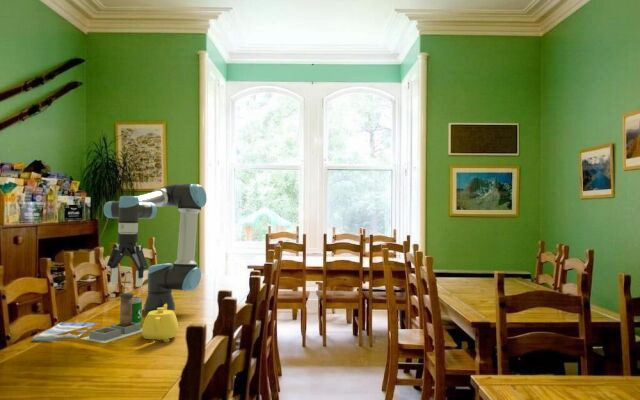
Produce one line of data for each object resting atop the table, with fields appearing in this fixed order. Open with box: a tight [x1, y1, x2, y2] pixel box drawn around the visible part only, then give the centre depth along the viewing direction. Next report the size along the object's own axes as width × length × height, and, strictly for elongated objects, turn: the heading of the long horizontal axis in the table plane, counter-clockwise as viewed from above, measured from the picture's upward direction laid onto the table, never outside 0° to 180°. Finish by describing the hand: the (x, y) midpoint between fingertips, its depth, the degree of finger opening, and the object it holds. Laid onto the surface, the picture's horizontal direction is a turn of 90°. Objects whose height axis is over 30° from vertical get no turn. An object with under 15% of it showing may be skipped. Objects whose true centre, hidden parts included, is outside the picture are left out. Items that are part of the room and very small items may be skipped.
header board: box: [79, 322, 142, 344], centre depth 182 cm, size 22×13×4 cm, turn 156°
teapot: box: [141, 304, 179, 344], centre depth 180 cm, size 13×20×12 cm
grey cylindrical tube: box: [119, 292, 134, 327], centre depth 186 cm, size 5×5×15 cm
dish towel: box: [31, 321, 99, 342], centre depth 186 cm, size 17×24×3 cm
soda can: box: [132, 296, 143, 324], centre depth 200 cm, size 8×8×12 cm
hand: (126, 285), depth 186 cm, fingers open, 13 cm apart
